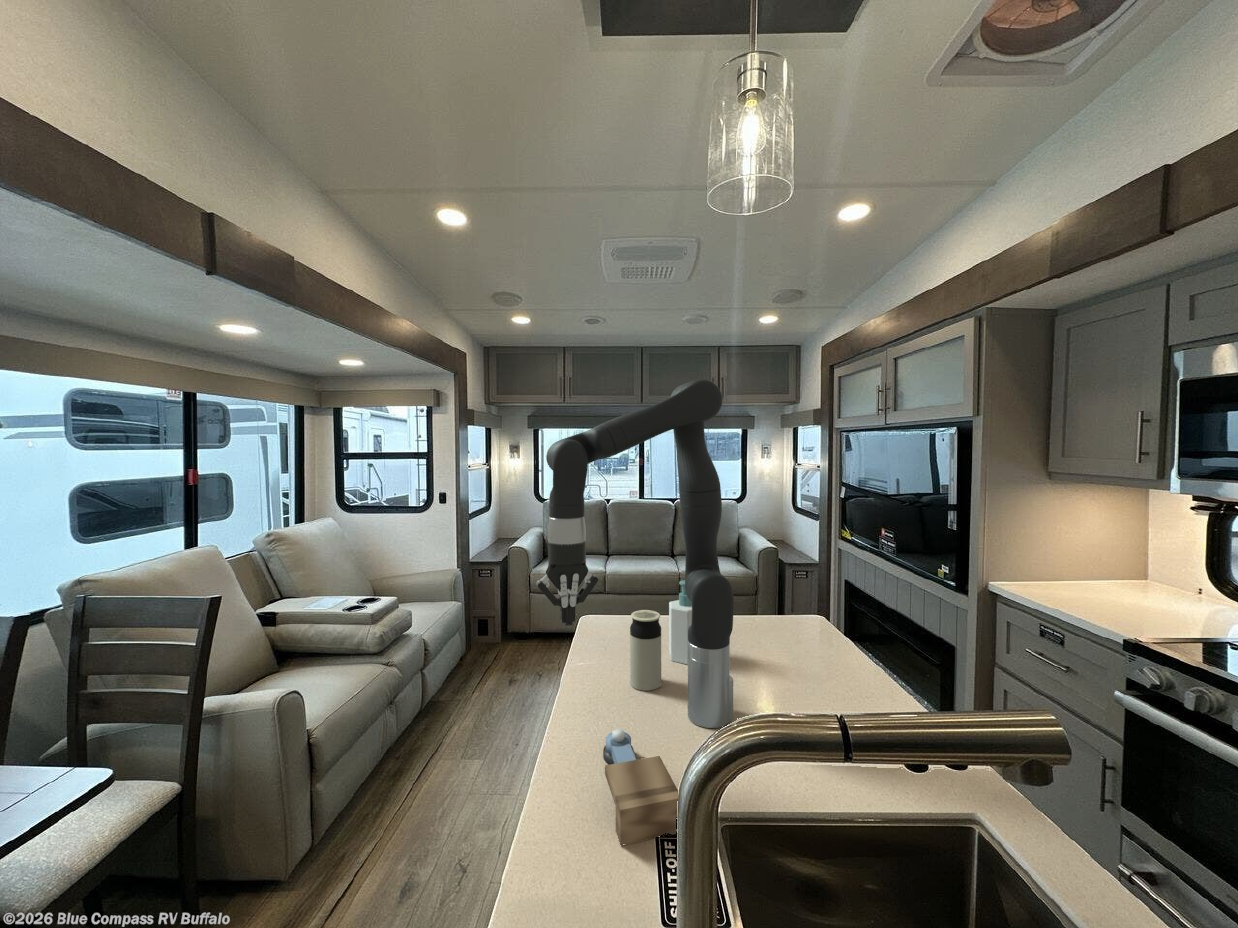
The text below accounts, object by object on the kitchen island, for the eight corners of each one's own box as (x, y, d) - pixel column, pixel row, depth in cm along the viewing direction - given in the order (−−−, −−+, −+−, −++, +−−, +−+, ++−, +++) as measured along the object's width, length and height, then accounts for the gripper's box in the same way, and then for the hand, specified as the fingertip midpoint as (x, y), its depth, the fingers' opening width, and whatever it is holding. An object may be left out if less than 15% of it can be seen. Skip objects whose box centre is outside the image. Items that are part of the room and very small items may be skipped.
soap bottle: (704, 665, 132) (704, 586, 131) (671, 664, 132) (671, 586, 132) (698, 649, 142) (699, 577, 142) (668, 649, 143) (668, 576, 142)
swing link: (603, 742, 95) (603, 727, 95) (627, 739, 96) (627, 723, 96) (622, 801, 79) (622, 782, 79) (651, 796, 80) (651, 777, 80)
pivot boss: (628, 744, 97) (628, 738, 97) (637, 763, 91) (637, 757, 91) (600, 749, 95) (600, 743, 95) (607, 768, 89) (607, 762, 89)
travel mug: (659, 693, 117) (659, 621, 116) (627, 690, 119) (627, 619, 118) (662, 677, 125) (662, 610, 124) (633, 675, 126) (632, 608, 126)
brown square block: (659, 786, 85) (659, 755, 84) (681, 832, 74) (681, 797, 74) (605, 796, 82) (604, 765, 82) (620, 845, 72) (620, 809, 72)
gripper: (593, 533, 101) (593, 614, 102) (531, 537, 97) (531, 621, 97) (604, 540, 94) (604, 626, 95) (537, 544, 90) (538, 635, 90)
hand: (567, 623), depth 96 cm, fingers closed
